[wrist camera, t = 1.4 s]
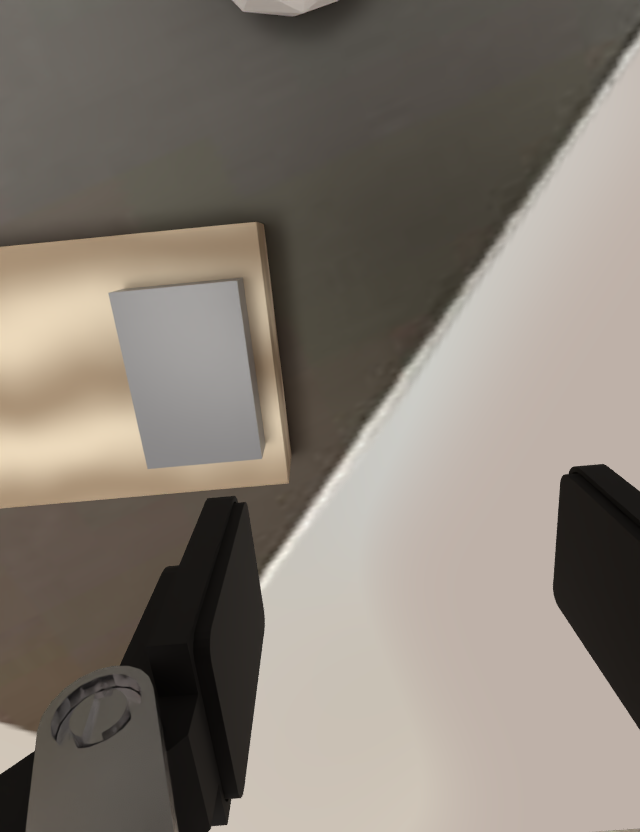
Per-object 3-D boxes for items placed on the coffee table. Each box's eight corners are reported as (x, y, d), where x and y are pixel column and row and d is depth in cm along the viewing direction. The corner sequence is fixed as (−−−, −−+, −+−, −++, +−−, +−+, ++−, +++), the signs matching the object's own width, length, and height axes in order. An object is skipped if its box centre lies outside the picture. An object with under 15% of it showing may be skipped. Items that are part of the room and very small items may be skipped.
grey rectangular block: (123, 288, 26) (108, 292, 24) (242, 277, 25) (236, 280, 24) (158, 453, 28) (147, 469, 27) (265, 444, 28) (262, 459, 26)
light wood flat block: (-55, 255, 29) (-111, 257, 25) (263, 224, 28) (256, 221, 25) (16, 479, 33) (-22, 510, 30) (291, 454, 33) (288, 483, 29)
